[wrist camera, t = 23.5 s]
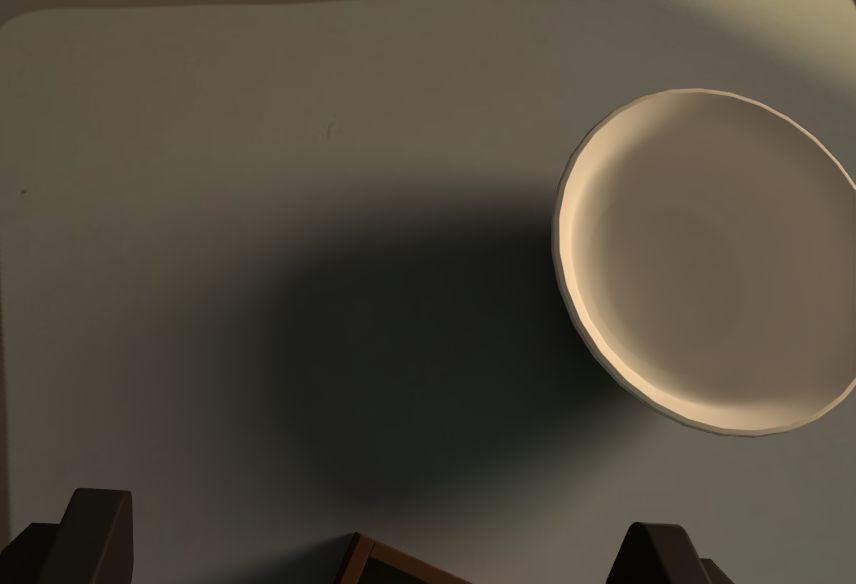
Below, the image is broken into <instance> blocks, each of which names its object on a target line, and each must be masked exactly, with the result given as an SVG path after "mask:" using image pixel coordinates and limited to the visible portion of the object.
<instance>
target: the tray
mask: <svg viewBox="0 0 856 584" xmlns="http://www.w3.org/2000/svg"><path fill="white" fill-rule="evenodd" d="M333 584H472V583H470V582H467V581H465V580H463V579H461V578H458V577H456V576H454V575H452V574H450V573H447V572H445V571H443V570H441V569H438V568H436V567H434V566H432V565H429V564H427V563H425V562H423V561H421V560H418V559H416V558H414V557H412V556H409V555H407V554H405V553H403V552H400V551H398V550H396V549H394V548H392V547H389V546H387V545H385V544H383V543H380V542H378V541H376V540H374V539H372V538H369V537H367V536H365V535H363V534H360V533H358V532H355V533H354V535H353V538H352V540H351V542H350V545H349V547H348V549H347V551H346V554H345V556H344V558H343V561H342V563H341V565H340V568H339V570H338V572H337V574H336V577H335V579H334V581H333Z"/></svg>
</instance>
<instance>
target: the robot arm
mask: <svg viewBox="0 0 856 584" xmlns="http://www.w3.org/2000/svg"><path fill="white" fill-rule="evenodd" d="M133 560H134V556H133V515H132V494H131V492H130V491H126V490H109V489H92V488H77V489H76V490H75V492H74V493H73V495H72V497H71V500H70V502H69V504H68V506H67V509H66V511H65V513H64V516H63V518H62V520H61V523H60V524H49V523H31V524H30V525H29V526H28V527H27V528H26V529H25V530H24V531H23V532H22V533H20V534H19V535H18V536H17V537H16V538H15V539H14V540H13V541H12V542H11V543H10V544H9V545H8V546H7V547H6V548H5V549H3V550H2V552H1V554H0V584H131V580H132V573H133ZM606 584H734V583H733V582H732V581H731V580H730V579H729V578H728V577H727V576H726V575H725V574H724V573H723V571H722V570H721V569H720V568H719V567H718V566H717V565H716V564H715V563H714V562H713V561H712V560H711V559H703V558H699V556H698V554H697V552H696V550H695V548H694V546H693V544H692V542H691V540H690V538H689V536H688V534H687V533H686V531H685V530H684V528H683V527H681V526H680V525H678V524H661V523H644V522H635V523H633V524H632V525H631V526H630V527H629V529H628V531H627V533H626V536H625V538H624V541H623V543H622V545H621V548H620V550H619V552H618V555H617V557H616V559H615V562H614V564H613V566H612V569H611V571H610V573H609V576H608V578H607V581H606Z"/></svg>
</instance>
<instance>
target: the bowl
mask: <svg viewBox="0 0 856 584" xmlns="http://www.w3.org/2000/svg"><path fill="white" fill-rule="evenodd" d="M551 253H552V258H553V263H554V268H555V273H556V278H557V283H558V288H559V291H560V293H561V296H562V298H563V301H564V303H565V306H566V308H567V311H568V313H569V316H570V318H571V321H572V323H573V325H574V327H575V328H576V330H577V331H578V333H579V335H580V336H581V338H582V339H583V341H584V342H585V344H586V346H587V347H588V349H589V350H590V352H591V354H592V355H593V357H594V358H595V359H596V360H597V361H598V362H599V363H600V364H601V366H602V367H603V368H604V369H605V370H606V371H607V372H608V373H609V374H610V375H611V377H612V378H613V379H614V380H615V381H616V382H617V383H618V384H619V385H620V386H621V387H622V388H624V389H625V390H626V391H628V392H629V393H630V394H631V395H633V396H634V397H635V398H637V399H638V400H639V401H641V402H642V403H643V404H645V405H646V406H647V407H648V408H650V409H651V410H653V411H655V412H657V413H659V414H661V415H663V416H665V417H667V418H669V419H671V420H673V421H675V422H677V423H679V424H681V425H683V426H686V427H690V428H693V429H697V430H701V431H704V432H708V433H712V434H715V435H719V436H734V437H751V438H755V437H761V436H767V435H773V434H779V433H785V432H789V431H791V430H794V429H796V428H798V427H801V426H803V425H805V424H808V423H810V422H812V421H815V420H817V419H818V418H820V417H821V416H822V415H824V414H825V413H826V412H828V411H829V410H830V409H832V408H833V407H834V406H836V405H837V404H838V403H840V402H841V401H842V400H844V398H845V397H846V396H847V395H848V394H849V392H850V391H851V390H852V389H853V388H854V386H855V385H856V186H855V184H854V183H853V182H852V180H851V179H850V177H849V176H848V174H847V173H846V172H845V170H844V169H843V167H842V166H841V165H840V163H839V162H838V161H837V160H836V159H835V158H834V157H833V156H832V155H831V154H830V153H829V151H828V150H827V149H826V148H825V147H824V146H823V145H822V144H821V143H820V142H819V141H818V140H817V139H816V138H815V137H814V136H812V135H811V134H810V133H808V132H807V131H806V130H804V129H803V128H802V127H800V126H799V125H798V124H796V123H795V122H794V121H792V120H791V119H790V118H788V117H786V116H784V115H783V114H781V113H779V112H777V111H775V110H773V109H771V108H769V107H767V106H766V105H764V104H762V103H760V102H757V101H754V100H751V99H748V98H745V97H742V96H739V95H736V94H733V93H729V92H722V91H715V90H708V89H701V88H697V89H677V90H667V91H663V92H659V93H656V94H652V95H648V96H644V97H640V98H638V99H636V100H634V101H632V102H630V103H628V104H626V105H624V106H622V107H620V108H618V109H616V110H614V111H612V112H611V113H610V114H609V115H607V116H606V117H605V118H604V119H603V120H601V121H600V122H599V123H598V124H597V125H596V126H594V127H593V128H592V129H591V130H590V131H589V132H588V133H587V134H586V136H585V137H584V138H583V140H582V141H581V142H580V144H579V145H578V146H577V148H576V149H575V150H574V152H573V153H572V155H571V156H570V158H569V161H568V163H567V165H566V167H565V170H564V172H563V174H562V176H561V179H560V181H559V183H558V186H557V191H556V196H555V201H554V206H553V211H552V216H551Z"/></svg>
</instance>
